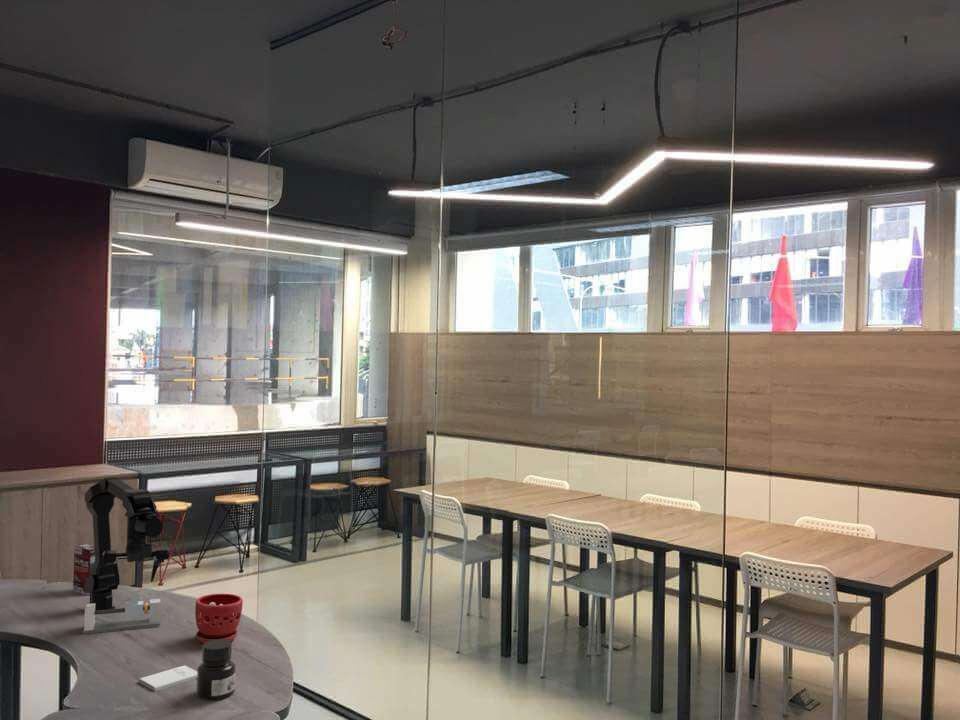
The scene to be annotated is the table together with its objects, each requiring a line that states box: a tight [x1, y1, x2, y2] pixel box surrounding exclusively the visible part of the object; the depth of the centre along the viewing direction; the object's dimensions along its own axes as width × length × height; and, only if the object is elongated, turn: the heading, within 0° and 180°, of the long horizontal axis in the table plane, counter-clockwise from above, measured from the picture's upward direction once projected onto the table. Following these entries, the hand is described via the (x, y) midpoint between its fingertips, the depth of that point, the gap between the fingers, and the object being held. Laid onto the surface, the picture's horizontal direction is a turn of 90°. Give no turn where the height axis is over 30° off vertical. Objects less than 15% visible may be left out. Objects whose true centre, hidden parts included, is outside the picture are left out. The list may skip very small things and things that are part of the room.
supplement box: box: [72, 543, 95, 596], centre depth 270 cm, size 9×5×16 cm, turn 62°
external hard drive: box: [138, 665, 197, 692], centre depth 197 cm, size 2×8×12 cm
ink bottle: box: [196, 640, 236, 701], centre depth 190 cm, size 10×9×12 cm
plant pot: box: [194, 593, 244, 644], centre depth 227 cm, size 13×13×12 cm
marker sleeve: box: [124, 588, 144, 618], centre depth 237 cm, size 5×4×8 cm
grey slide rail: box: [82, 598, 161, 635], centre depth 236 cm, size 21×7×7 cm, turn 113°
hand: (135, 583), depth 237 cm, fingers open, 9 cm apart
